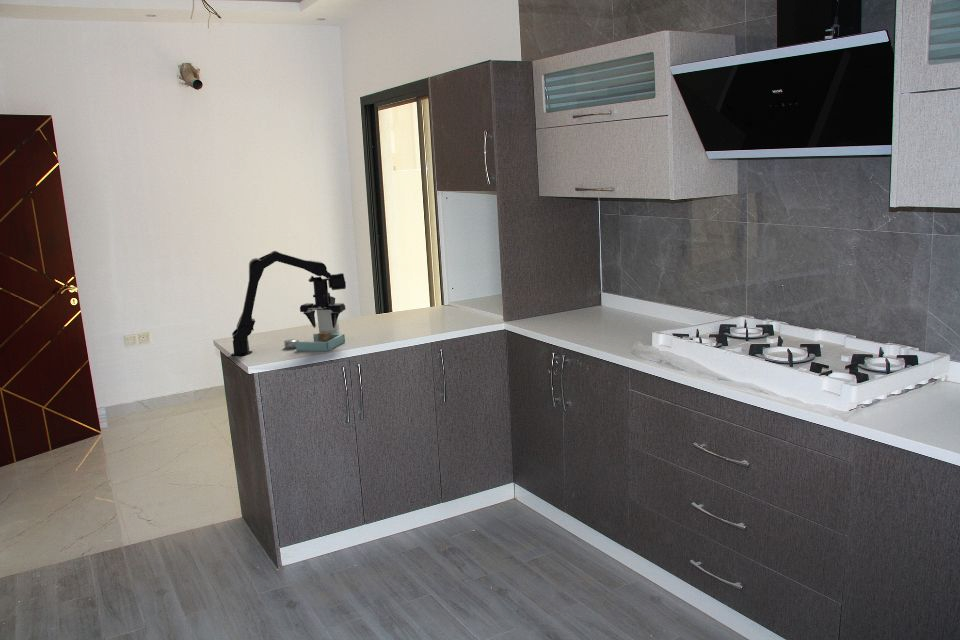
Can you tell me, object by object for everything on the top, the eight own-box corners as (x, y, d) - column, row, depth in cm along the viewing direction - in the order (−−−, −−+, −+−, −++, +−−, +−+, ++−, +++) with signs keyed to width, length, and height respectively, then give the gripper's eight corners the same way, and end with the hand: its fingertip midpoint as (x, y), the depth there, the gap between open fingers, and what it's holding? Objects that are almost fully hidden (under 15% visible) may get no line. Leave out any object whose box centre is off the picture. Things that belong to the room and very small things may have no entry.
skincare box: (340, 335, 356) (337, 301, 353) (338, 338, 349) (335, 303, 346) (321, 336, 355) (318, 302, 352) (318, 339, 349) (315, 304, 346)
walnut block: (331, 343, 341) (330, 331, 340) (327, 345, 338) (326, 333, 337) (323, 343, 342) (322, 331, 341) (318, 345, 339) (317, 333, 338)
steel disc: (295, 349, 333) (294, 342, 332) (282, 349, 335) (281, 342, 334) (301, 346, 339) (301, 339, 338) (289, 346, 340) (288, 339, 340)
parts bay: (327, 351, 326) (326, 342, 326) (296, 350, 330) (295, 342, 330) (345, 342, 342) (344, 334, 341) (315, 341, 346) (314, 333, 345)
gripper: (349, 288, 340) (352, 323, 344) (310, 288, 346) (313, 323, 349) (337, 292, 330) (341, 329, 333) (297, 292, 335) (301, 328, 338)
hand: (324, 327), depth 339 cm, fingers open, 9 cm apart
